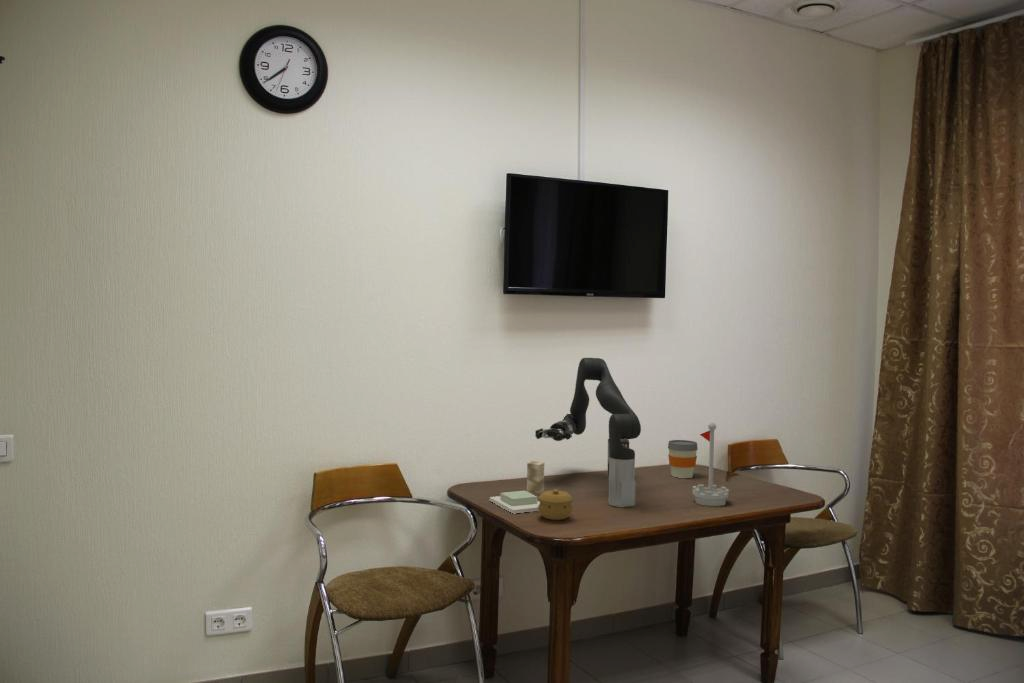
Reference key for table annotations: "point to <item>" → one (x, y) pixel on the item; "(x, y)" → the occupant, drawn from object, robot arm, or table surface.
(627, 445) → the coffee box
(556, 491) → the pot
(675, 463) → the reusable coffee cup
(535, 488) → the birch column
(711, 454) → the flag stand
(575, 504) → the table surface
